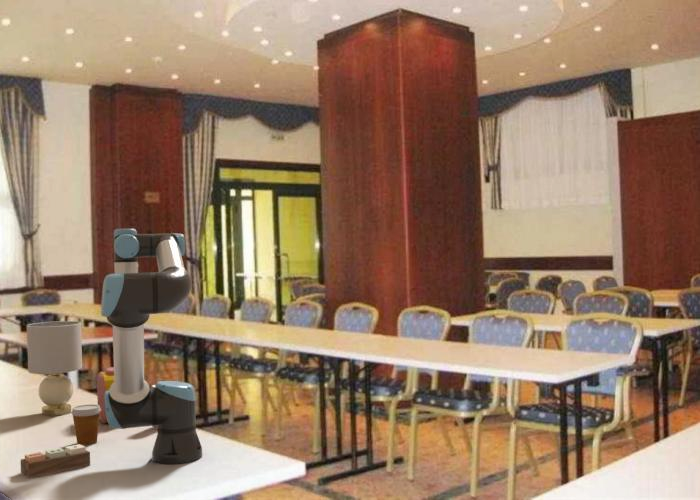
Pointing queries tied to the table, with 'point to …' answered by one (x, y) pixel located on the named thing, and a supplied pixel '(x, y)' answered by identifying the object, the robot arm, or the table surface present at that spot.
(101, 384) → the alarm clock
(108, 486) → the table surface
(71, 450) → the key one
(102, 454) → the table surface
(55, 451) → the key two
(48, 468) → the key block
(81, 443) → the disposable coffee cup
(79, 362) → the lamp
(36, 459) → the key three
